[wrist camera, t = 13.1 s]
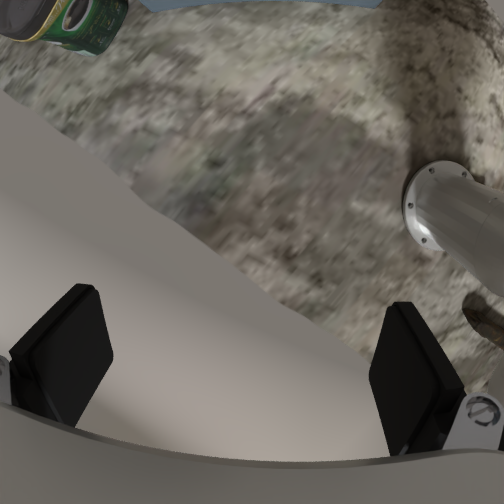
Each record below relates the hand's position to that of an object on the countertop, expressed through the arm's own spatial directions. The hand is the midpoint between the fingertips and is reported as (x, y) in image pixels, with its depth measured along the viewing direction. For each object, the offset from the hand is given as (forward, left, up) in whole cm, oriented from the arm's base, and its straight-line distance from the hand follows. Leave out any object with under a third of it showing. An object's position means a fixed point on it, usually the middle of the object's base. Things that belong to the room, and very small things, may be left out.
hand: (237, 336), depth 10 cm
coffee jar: (+21, -23, -32) cm, 45 cm away
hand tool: (-41, +25, -32) cm, 58 cm away
